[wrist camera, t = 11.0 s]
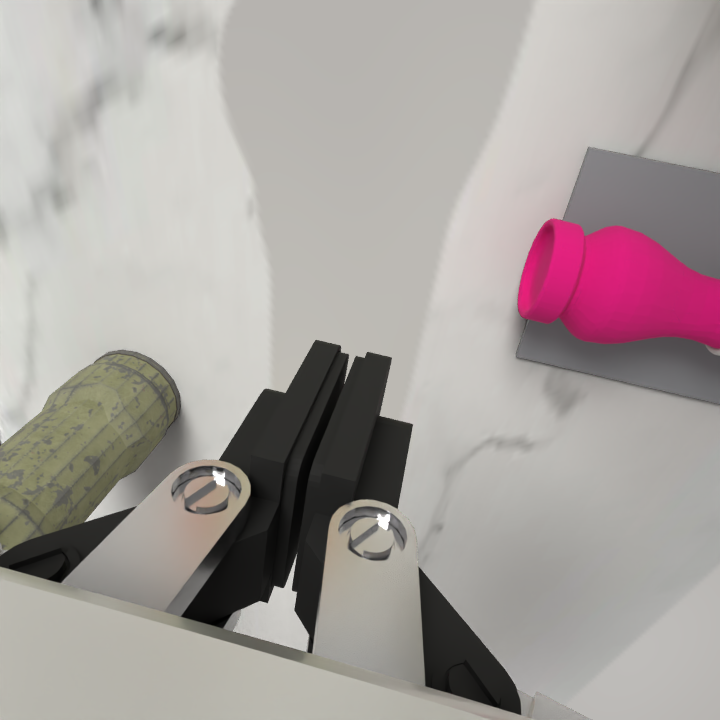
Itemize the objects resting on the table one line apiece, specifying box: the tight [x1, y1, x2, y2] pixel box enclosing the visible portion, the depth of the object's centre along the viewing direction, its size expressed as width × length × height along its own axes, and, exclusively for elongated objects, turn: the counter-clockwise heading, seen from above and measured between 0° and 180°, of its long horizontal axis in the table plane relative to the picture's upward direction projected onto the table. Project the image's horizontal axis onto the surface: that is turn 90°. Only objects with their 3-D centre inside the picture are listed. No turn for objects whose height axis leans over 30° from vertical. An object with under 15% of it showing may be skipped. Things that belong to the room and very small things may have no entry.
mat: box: [516, 147, 720, 404], centre depth 38 cm, size 15×19×1 cm
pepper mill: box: [518, 219, 720, 356], centre depth 35 cm, size 7×7×20 cm
